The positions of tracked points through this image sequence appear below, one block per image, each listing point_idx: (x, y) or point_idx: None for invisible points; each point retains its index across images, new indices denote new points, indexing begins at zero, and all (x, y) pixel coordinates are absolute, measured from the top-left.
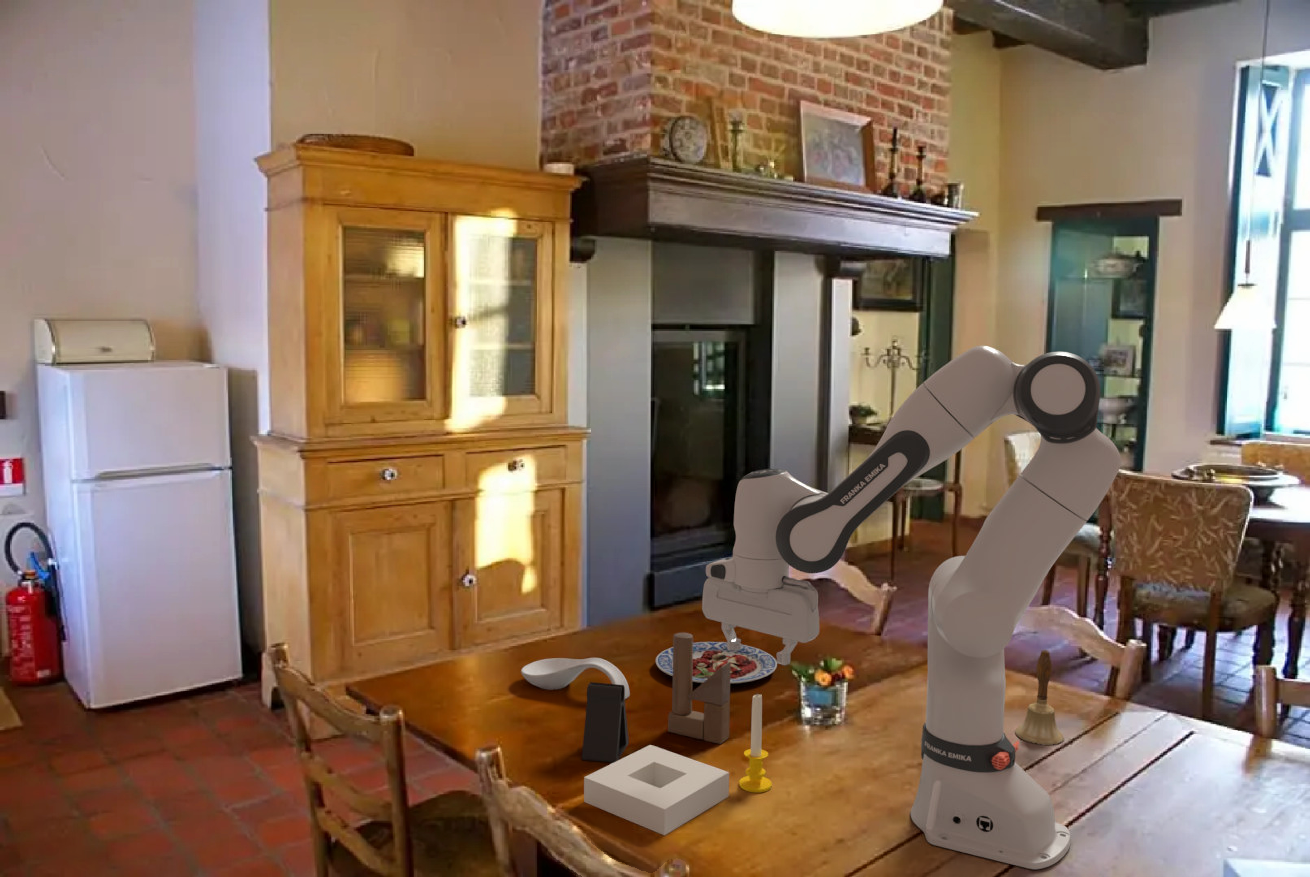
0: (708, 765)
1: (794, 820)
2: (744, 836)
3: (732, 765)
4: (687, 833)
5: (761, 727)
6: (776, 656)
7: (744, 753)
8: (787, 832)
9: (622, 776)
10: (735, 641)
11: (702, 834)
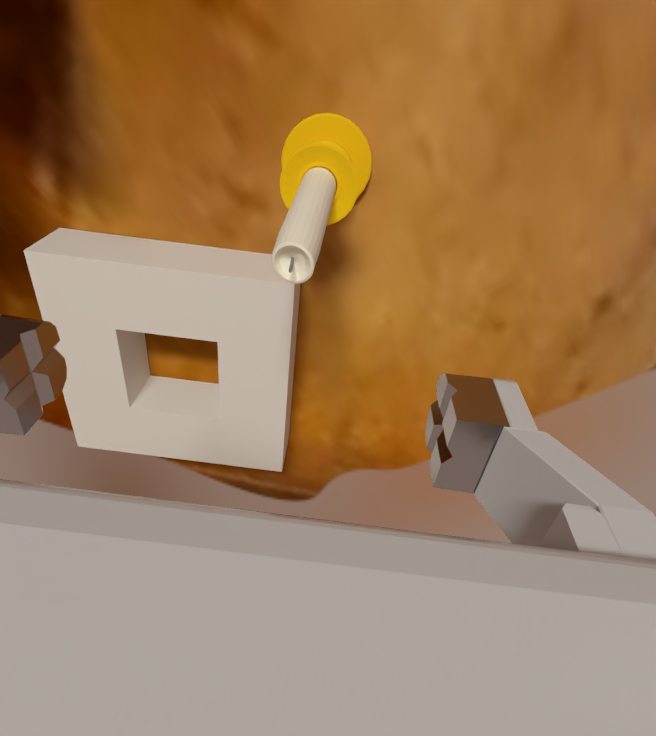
0: (228, 279)
1: (484, 277)
2: (411, 379)
3: (202, 72)
4: (316, 414)
5: (327, 211)
6: (430, 468)
7: (288, 207)
8: (484, 329)
9: (125, 413)
10: (19, 424)
11: (340, 406)
